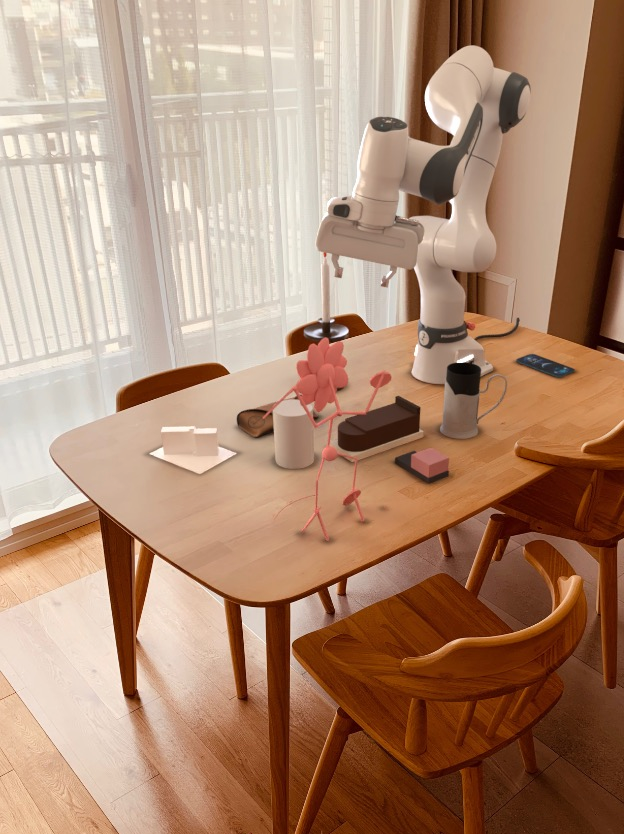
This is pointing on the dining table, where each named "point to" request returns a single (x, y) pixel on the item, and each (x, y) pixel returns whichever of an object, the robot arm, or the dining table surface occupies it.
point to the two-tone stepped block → (425, 464)
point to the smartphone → (545, 365)
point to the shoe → (379, 430)
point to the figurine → (321, 387)
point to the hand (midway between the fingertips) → (361, 281)
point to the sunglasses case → (259, 419)
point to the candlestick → (326, 316)
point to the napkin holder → (192, 448)
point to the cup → (293, 435)
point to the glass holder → (463, 400)
